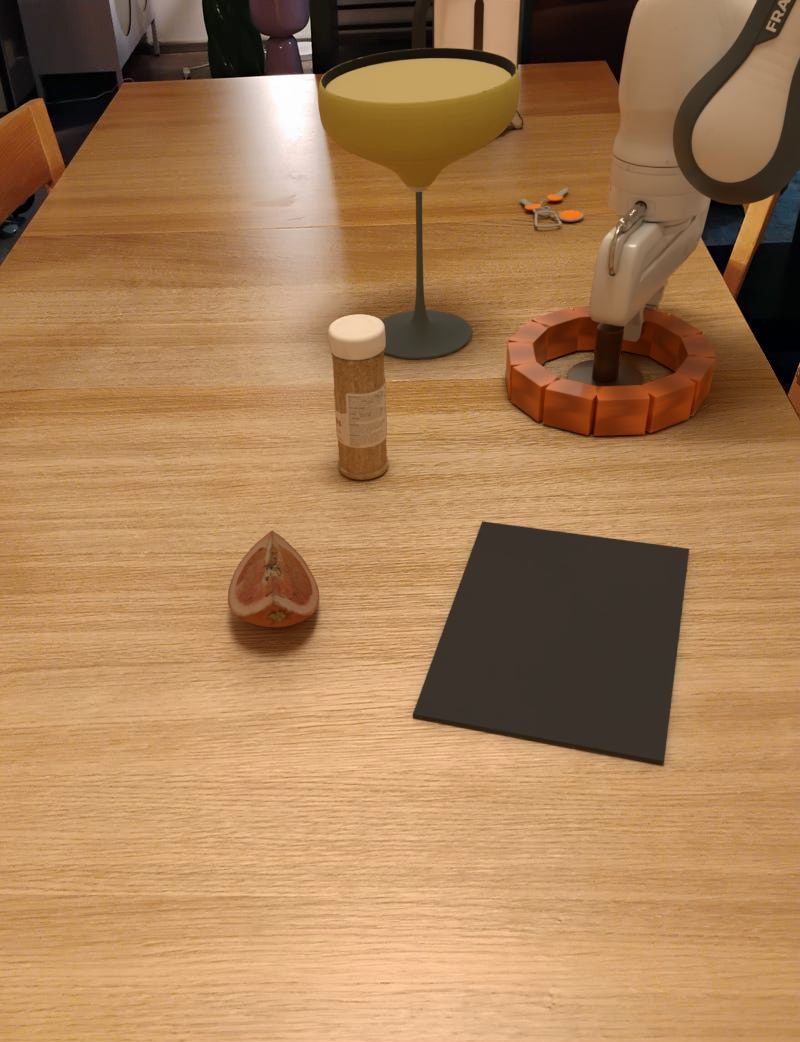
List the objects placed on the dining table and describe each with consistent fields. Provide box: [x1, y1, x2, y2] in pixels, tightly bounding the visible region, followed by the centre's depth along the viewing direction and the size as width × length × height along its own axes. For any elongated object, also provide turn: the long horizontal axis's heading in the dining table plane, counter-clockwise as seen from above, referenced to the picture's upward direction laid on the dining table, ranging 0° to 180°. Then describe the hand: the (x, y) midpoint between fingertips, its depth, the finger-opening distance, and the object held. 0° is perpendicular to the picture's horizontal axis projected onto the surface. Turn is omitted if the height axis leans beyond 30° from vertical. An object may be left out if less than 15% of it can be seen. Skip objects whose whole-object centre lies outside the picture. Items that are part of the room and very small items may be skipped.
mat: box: [412, 521, 690, 766], centre depth 73 cm, size 22×16×1 cm
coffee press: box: [411, 0, 525, 130], centre depth 146 cm, size 17×16×30 cm
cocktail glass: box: [317, 47, 521, 360], centre depth 100 cm, size 18×18×25 cm
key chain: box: [518, 187, 585, 229], centre depth 130 cm, size 13×7×1 cm, turn 179°
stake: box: [566, 323, 644, 387], centre depth 96 cm, size 7×7×6 cm
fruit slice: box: [227, 530, 320, 628], centre depth 75 cm, size 8×7×5 cm
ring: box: [505, 305, 717, 437], centre depth 97 cm, size 18×18×4 cm
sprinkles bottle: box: [327, 313, 390, 481], centre depth 86 cm, size 5×5×13 cm
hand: (639, 329), depth 101 cm, fingers closed on ring, 2 cm apart
